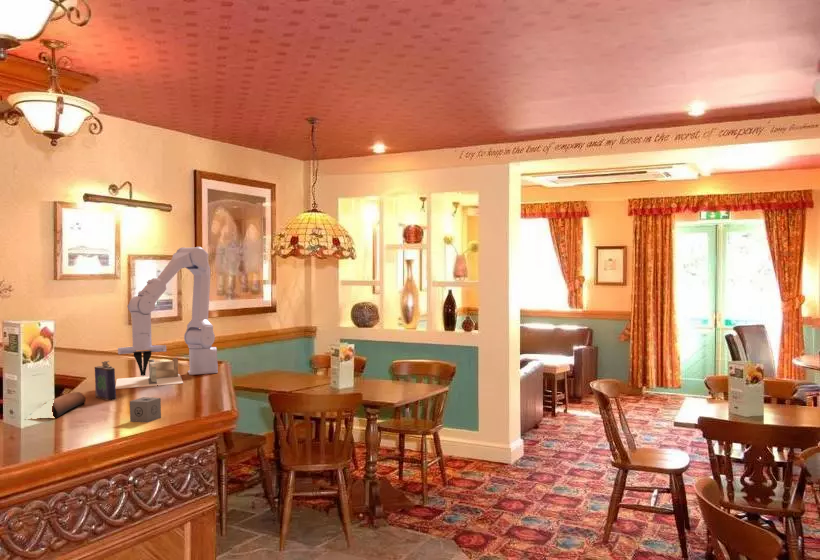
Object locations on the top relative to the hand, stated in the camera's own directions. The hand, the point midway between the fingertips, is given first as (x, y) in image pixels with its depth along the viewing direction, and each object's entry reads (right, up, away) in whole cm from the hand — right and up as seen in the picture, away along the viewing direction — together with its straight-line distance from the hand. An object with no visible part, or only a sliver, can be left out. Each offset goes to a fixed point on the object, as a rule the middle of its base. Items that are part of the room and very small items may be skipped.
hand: (143, 375), depth 220 cm
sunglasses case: (-6, -4, -42) cm, 43 cm away
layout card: (+1, -2, +3) cm, 4 cm away
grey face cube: (+22, -4, -54) cm, 58 cm away
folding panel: (+3, -2, +2) cm, 4 cm away
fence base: (+4, -2, +9) cm, 10 cm away
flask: (-1, -3, -25) cm, 25 cm away
